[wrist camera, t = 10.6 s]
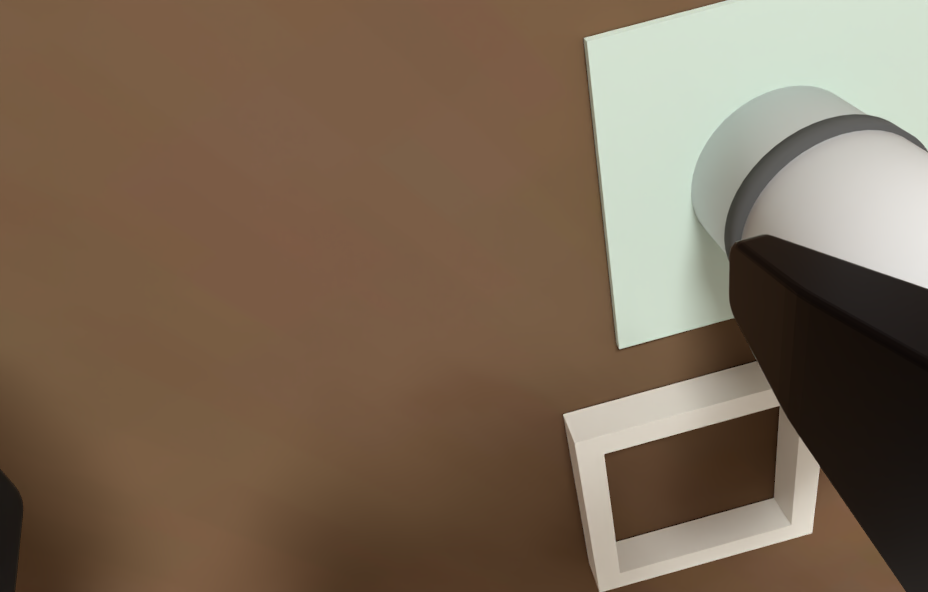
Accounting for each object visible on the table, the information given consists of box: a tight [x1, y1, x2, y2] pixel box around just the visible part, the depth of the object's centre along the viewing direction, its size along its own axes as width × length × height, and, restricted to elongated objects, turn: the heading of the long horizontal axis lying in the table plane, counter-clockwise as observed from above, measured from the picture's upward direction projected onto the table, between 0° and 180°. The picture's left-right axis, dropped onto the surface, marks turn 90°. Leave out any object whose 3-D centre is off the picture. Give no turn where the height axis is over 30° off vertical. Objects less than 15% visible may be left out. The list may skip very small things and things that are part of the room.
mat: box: [584, 0, 928, 349], centre depth 24 cm, size 11×11×1 cm
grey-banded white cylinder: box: [691, 85, 928, 289], centre depth 18 cm, size 6×6×13 cm
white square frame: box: [563, 361, 820, 592], centre depth 31 cm, size 10×10×2 cm
